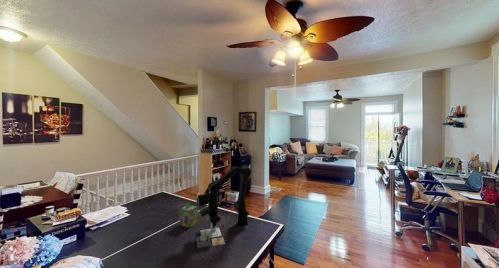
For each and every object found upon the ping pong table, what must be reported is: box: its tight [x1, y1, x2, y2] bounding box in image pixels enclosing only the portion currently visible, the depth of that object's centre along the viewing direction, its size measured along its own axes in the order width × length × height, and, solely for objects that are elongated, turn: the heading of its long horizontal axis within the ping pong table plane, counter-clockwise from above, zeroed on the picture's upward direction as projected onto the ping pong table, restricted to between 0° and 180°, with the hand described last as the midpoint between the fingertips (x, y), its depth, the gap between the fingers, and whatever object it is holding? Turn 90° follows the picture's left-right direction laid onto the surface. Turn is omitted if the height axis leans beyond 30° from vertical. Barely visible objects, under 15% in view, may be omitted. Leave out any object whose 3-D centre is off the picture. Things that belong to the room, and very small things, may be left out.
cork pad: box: [210, 236, 226, 247], centre depth 119 cm, size 7×7×1 cm
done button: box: [199, 234, 207, 243], centre depth 117 cm, size 4×4×3 cm
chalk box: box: [178, 201, 199, 229], centre depth 140 cm, size 9×9×15 cm
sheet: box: [200, 227, 223, 239], centre depth 128 cm, size 12×10×1 cm
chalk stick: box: [210, 222, 217, 231], centre depth 131 cm, size 4×4×8 cm
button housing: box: [196, 235, 211, 249], centre depth 117 cm, size 7×7×2 cm
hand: (213, 226), depth 131 cm, fingers closed on chalk stick, 4 cm apart
